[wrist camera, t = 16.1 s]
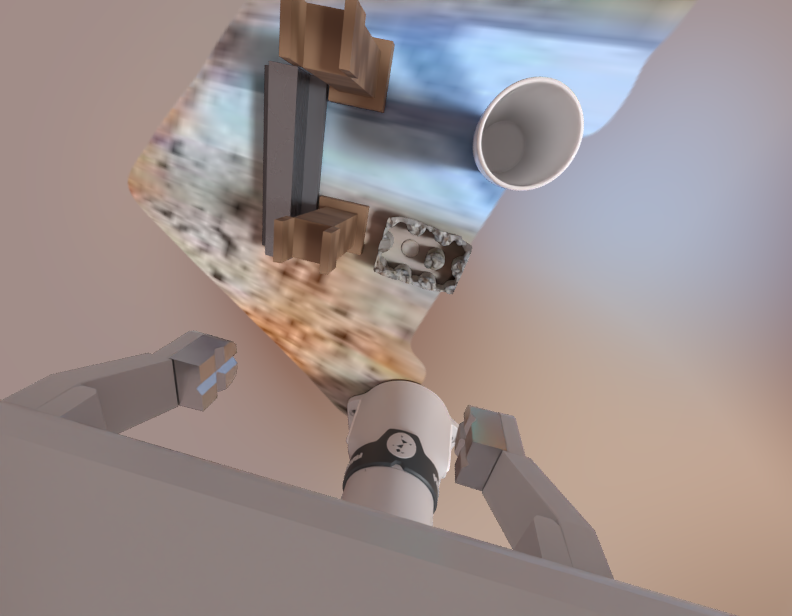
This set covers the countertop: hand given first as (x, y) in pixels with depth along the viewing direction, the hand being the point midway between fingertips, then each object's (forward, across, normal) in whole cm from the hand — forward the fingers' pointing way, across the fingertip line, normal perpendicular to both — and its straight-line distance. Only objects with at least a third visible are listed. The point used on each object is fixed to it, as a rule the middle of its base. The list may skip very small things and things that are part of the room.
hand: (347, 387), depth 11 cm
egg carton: (+32, -1, +3) cm, 32 cm away
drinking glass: (+31, -6, -10) cm, 33 cm away
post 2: (+31, +10, +2) cm, 33 cm away
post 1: (+31, +10, -14) cm, 36 cm away
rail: (+30, +17, -3) cm, 35 cm away
